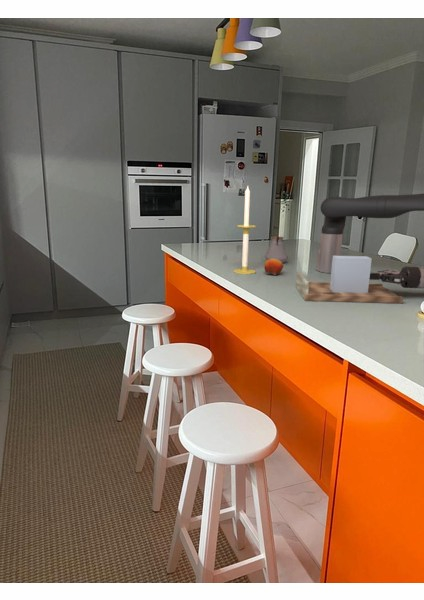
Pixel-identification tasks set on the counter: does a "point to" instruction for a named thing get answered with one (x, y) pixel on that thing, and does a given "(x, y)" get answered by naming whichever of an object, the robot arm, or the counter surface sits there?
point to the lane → (344, 293)
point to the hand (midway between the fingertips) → (367, 276)
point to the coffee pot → (276, 250)
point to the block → (350, 274)
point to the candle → (245, 236)
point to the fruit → (273, 266)
